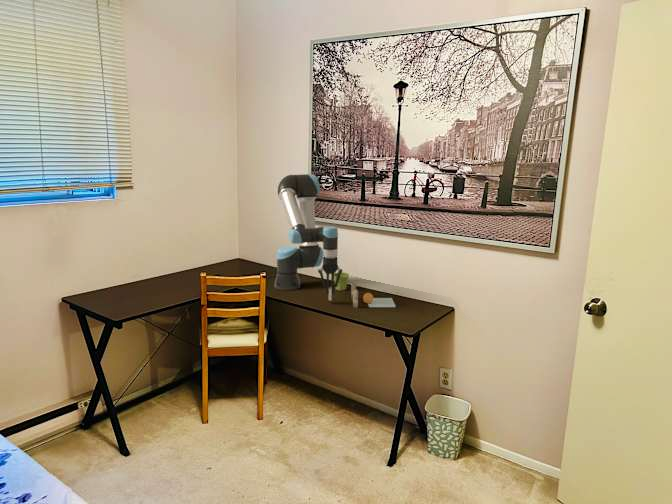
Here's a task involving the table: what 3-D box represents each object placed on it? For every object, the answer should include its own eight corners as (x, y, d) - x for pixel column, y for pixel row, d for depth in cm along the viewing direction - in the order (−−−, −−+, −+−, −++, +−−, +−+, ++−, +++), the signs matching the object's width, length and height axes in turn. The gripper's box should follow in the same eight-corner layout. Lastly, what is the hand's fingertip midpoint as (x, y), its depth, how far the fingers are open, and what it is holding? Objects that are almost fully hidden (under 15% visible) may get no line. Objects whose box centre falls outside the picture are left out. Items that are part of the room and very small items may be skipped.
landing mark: (366, 298, 271) (366, 298, 271) (391, 298, 271) (391, 297, 271) (369, 307, 257) (369, 306, 257) (395, 307, 258) (395, 306, 258)
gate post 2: (352, 306, 259) (353, 289, 256) (357, 306, 259) (358, 289, 257) (353, 307, 256) (353, 291, 254) (358, 307, 256) (358, 291, 254)
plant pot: (347, 292, 281) (347, 277, 279) (331, 290, 283) (331, 276, 281) (350, 287, 290) (350, 272, 288) (334, 286, 292) (334, 271, 290)
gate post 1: (351, 298, 271) (351, 282, 269) (355, 298, 271) (356, 282, 269) (351, 299, 268) (351, 283, 266) (356, 299, 268) (356, 283, 266)
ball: (364, 290, 265) (374, 293, 265) (361, 299, 266) (371, 302, 266) (365, 293, 259) (375, 296, 260) (361, 302, 261) (371, 306, 261)
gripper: (317, 258, 253) (317, 302, 259) (343, 258, 254) (342, 301, 259) (317, 254, 260) (317, 297, 266) (342, 254, 261) (341, 297, 266)
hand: (330, 299), depth 262 cm, fingers closed
